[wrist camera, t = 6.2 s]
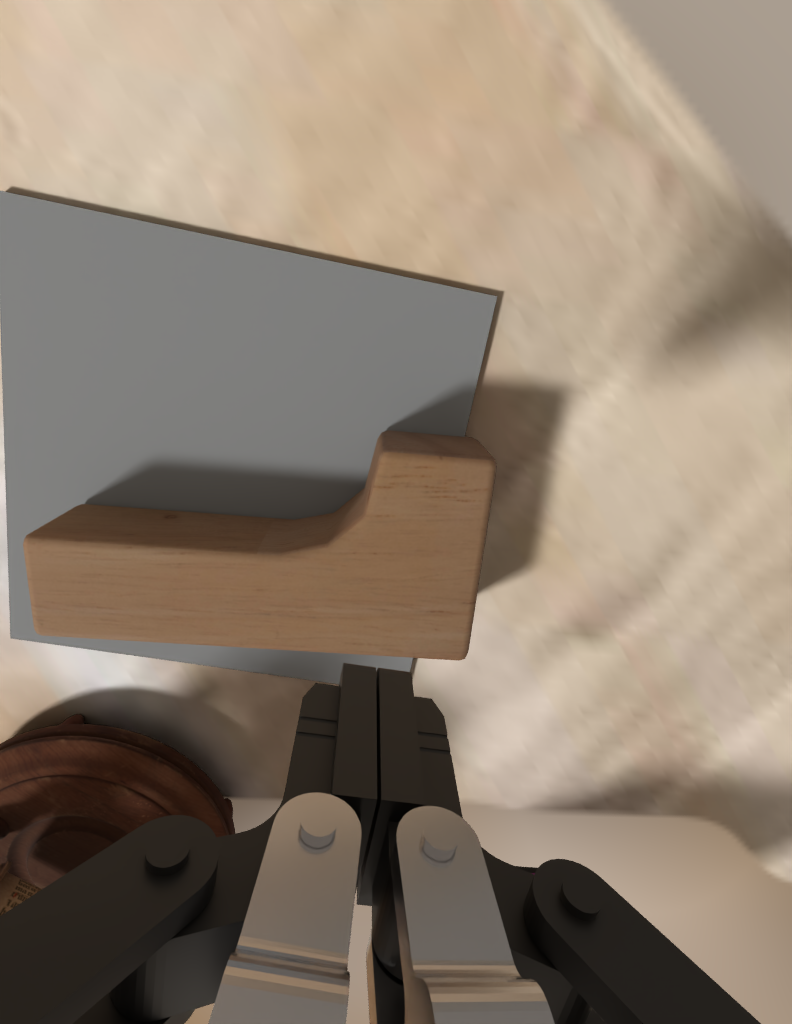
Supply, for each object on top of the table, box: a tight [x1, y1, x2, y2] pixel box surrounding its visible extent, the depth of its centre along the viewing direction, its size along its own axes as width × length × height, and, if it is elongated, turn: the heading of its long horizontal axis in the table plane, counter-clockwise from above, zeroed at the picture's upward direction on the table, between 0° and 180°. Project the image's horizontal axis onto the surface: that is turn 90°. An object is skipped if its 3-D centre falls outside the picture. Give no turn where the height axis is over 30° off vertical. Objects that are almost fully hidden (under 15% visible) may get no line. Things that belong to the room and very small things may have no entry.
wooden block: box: [23, 430, 497, 660], centre depth 23 cm, size 9×4×18 cm
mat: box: [0, 191, 497, 684], centre depth 25 cm, size 20×20×1 cm
